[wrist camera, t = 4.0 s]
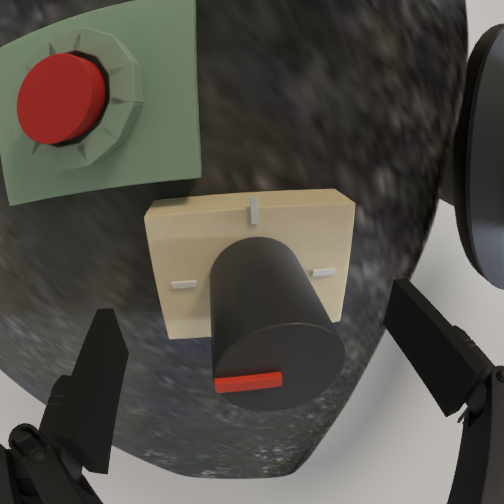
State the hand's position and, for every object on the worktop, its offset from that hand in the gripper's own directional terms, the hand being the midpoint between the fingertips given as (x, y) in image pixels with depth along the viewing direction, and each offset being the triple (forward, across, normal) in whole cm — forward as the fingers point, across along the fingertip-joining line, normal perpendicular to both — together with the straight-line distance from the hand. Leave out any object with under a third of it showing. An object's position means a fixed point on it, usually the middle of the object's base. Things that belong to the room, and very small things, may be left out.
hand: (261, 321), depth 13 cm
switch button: (+3, -8, +10) cm, 14 cm away
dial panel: (+7, 0, 0) cm, 7 cm away
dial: (+4, 0, 0) cm, 4 cm away
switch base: (+7, -8, +10) cm, 15 cm away
